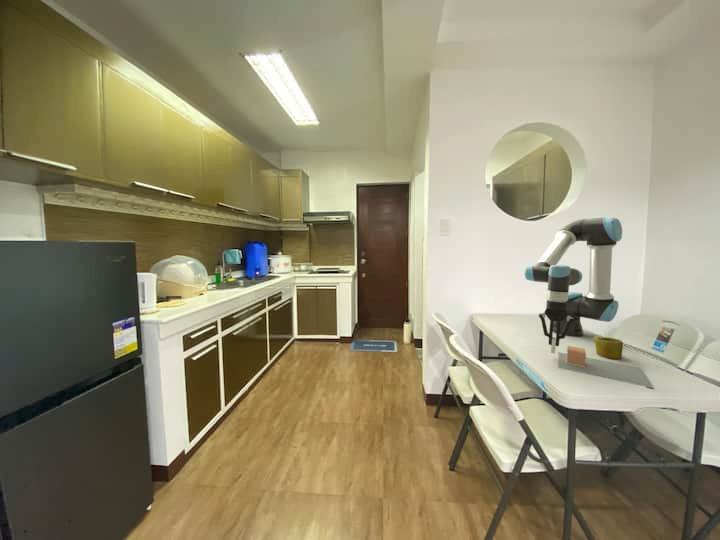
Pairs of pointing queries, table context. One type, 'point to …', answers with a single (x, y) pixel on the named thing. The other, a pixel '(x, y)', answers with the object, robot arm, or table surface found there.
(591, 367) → the mat
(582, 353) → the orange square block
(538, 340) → the table surface
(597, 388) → the table surface
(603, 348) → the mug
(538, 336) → the table surface
